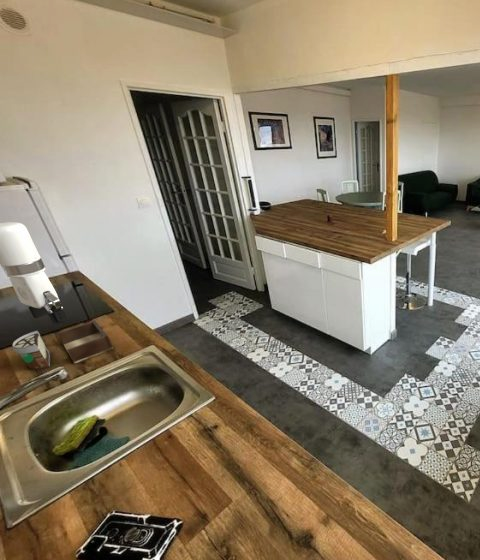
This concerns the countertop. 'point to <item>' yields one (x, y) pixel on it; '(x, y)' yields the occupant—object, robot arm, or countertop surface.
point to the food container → (32, 351)
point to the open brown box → (85, 341)
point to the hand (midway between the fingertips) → (51, 319)
